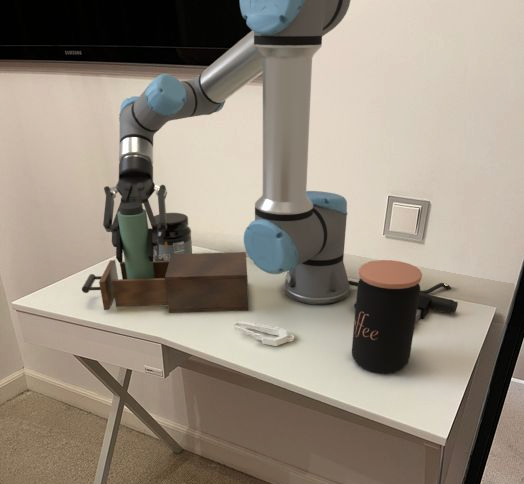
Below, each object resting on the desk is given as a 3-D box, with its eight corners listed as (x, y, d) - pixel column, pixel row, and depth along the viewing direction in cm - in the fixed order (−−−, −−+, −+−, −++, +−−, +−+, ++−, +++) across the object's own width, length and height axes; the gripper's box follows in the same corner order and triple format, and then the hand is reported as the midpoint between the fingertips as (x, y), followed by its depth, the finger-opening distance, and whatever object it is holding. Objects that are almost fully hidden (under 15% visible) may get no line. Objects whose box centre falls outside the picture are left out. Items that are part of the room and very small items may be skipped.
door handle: (438, 331, 106) (460, 296, 117) (344, 307, 115) (373, 277, 126) (435, 345, 108) (458, 309, 119) (344, 321, 117) (372, 290, 128)
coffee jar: (345, 347, 106) (352, 261, 96) (398, 344, 106) (410, 258, 97) (358, 377, 97) (367, 285, 87) (416, 374, 97) (431, 282, 88)
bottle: (160, 284, 125) (150, 202, 115) (148, 295, 120) (136, 210, 110) (137, 281, 126) (125, 200, 116) (124, 292, 121) (110, 208, 112)
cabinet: (168, 313, 119) (164, 277, 115) (174, 287, 131) (170, 254, 126) (248, 310, 120) (247, 274, 115) (246, 285, 131) (245, 251, 127)
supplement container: (167, 252, 151) (163, 210, 145) (200, 257, 148) (197, 214, 141) (146, 265, 143) (140, 221, 137) (180, 271, 139) (176, 226, 133)
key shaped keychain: (227, 337, 109) (226, 330, 108) (236, 326, 113) (236, 319, 112) (287, 349, 105) (287, 341, 104) (295, 337, 109) (295, 329, 108)
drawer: (82, 310, 118) (76, 282, 115) (94, 287, 129) (89, 260, 126) (179, 307, 119) (176, 279, 116) (183, 284, 130) (180, 258, 126)
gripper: (180, 172, 125) (181, 264, 119) (98, 174, 124) (95, 267, 119) (176, 153, 118) (177, 250, 112) (88, 155, 117) (85, 253, 112)
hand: (135, 259), depth 116 cm, fingers closed on bottle, 6 cm apart
